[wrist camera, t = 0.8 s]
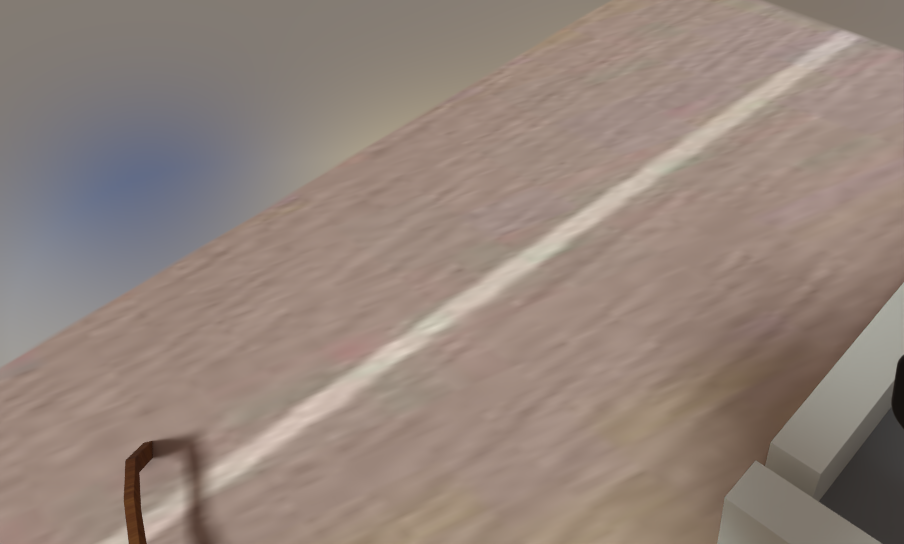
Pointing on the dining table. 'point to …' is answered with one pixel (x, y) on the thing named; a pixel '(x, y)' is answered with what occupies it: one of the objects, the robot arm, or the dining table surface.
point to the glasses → (135, 493)
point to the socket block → (833, 456)
